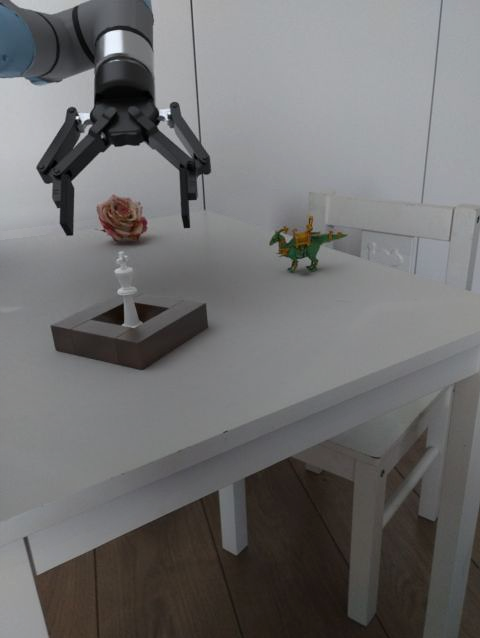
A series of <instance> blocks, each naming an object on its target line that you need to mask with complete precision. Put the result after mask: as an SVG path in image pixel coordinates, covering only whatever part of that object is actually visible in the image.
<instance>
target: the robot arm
mask: <svg viewBox="0 0 480 638" xmlns="http://www.w3.org/2000/svg"><path fill="white" fill-rule="evenodd" d="M152 5H153V4H152V0H87V1H84V2H82V3H80V4H78V5H75V6H73V7H70V8H67V9H65V10H62V11H59V12H55V13H52V14H50V13H46V12H42V11H37V10H34V9H33V10H32V9H30V8H29V9H28V8H23V7H20V6H18V5H17V4H15V3H14V2H13V1H12V0H0V79H14V78H24V79H25V80H27V81H29V83H30V84H32V85H34V86H38V87H39V86H40V87H41V86H46V85H49V84H53V83H57V84H58V83H61V82H63V80H65V79H69V78H70V77H73V76H76V75H79V74H82V73H85V72H88V71H90V70H92V69H93V74H94V79H93V108H92V109H91V111H90V112H78V109H77V108H76V107H75V106H70V107H68V108H67V109H66V113H65V118H64V122H63V124H62V125H61V126H60V128H59V130H58V132H57V133H56V135H55V136H54V138H53V140H52V141H51V143H50V144H49V146H48V147H47V149H46V151H45V152H44V154H43V155H42V157H41V158H40V160H39V161H38V163H37V165H36V167H35V168H36V171H37V173H38V175H39V177H40V178H41V180H42V182H43V183H44V184H46V185H50V184H52V187H51V189H52V191H51V199H52V201H53V203H54V205H55V207H56V208H57V209H59V225H60V227H61V228H62V231H63V233H65V235H66V237H73V236H74V223H75V220H74V219H75V186H74V184H73V181H74V180H75V178H76V177H78V176H79V175H80V173H82V171H84V170H85V169H86V168H87V167H88V165H89V164H91V162H92V161H94V159H96V157H97V156H98V155H99V154H100V153H105V152H107V150H108V149H109V148H110V147H111V146H114V148H118V147H119V148H120V147H125V146H133V147H140V146H141V144H142V143H145V144H146V145H147V146H148V147H149V148H150V149H152V150H153V151H154V150H155V151H156V152H157V153H158V154H159V155H161V156H162V157H163V158H164V159H165V160H166V161H168V162H169V163H170V164H171V165H172V166H173V167H174V168H175V169H177V170H178V174H179V175H178V176H179V177H178V178H179V194H180V195H179V196H180V216H181V221H182V226H183V229H190V228H191V216H190V214H191V213H190V201H197V200H198V198H199V190H198V189H199V188H198V178H199V176H201V175H204V176H208V175H210V174H212V163H211V156H210V154H209V153H208V151H207V150H206V149H205V147H204V145H203V144H202V143H201V141H200V140H199V139H198V137H197V135H196V134H195V133H194V132H193V130H192V128H191V127H190V126H189V125H188V124H189V123H188V122H186V120H185V118H184V117H183V116H182V111H181V107H180V103H179V102H178V101H172V102H170V103H169V107H167V108H160V109H159V108H158V107H157V103H156V99H157V98H156V82H155V80H156V73H155V72H156V71H155V51H154V26H155V25H154V23H155V18H154V12H153V6H152ZM161 122H164V123H165V124H166V126H168V127H169V129H173V131H174V133H175V135H176V137H177V138H178V140H179V141H180V143H181V145H182V146H183V147H184V149H185V150H186V151H187V153H188V154H189V155H188V154H187V153H186V152H185V151H184V150H183V149H181V147H179V145H177V144H176V143H175V142H174V141H173V140H172V139H170V138H169V137H168V136H167V135H166V134H164V133H163V132H162V131H161V130H160V129H159V127H158V126H159V125H160V123H161ZM90 125H91V126H90ZM88 126H90V127H89V129H88V132H87V134H86V135H85V136H84V137H83V138H82V139H80V138H81V134H84V133H85V131H86V129H87V127H88ZM79 140H80V141H79ZM78 141H79V142H78Z"/></svg>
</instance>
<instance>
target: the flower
mask: <svg viewBox="0 0 480 638" xmlns="http://www.w3.org/2000/svg"><path fill="white" fill-rule="evenodd" d="M96 212H97V215H98V220H99V222H100V224H101V226H102V228H103V229H99V228H94V230H96V231H101V232H103V233H106V236H110V237H111V238H112V240H113V241H114V244H113V245H114V246H115V245H116V243H118V242H119V241H124V239H125V240H126V241H128V239H130V240H131V239H132V240H133V241H137V242H138V241H139V240H140V238H141V235H144V233H146V232H147V231H148V227H147V226H148V220H147V219H146V217H145V216H143V206H141V201H133V200H132V199H131V198H130V197H125V196H123V197H121V196H118V195H116V194H112V195H111V196H109V198H107V200H105V201H103V202H102V203H100V204H97V205H96Z"/></svg>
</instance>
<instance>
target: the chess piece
mask: <svg viewBox="0 0 480 638" xmlns="http://www.w3.org/2000/svg"><path fill="white" fill-rule="evenodd" d="M129 259H130V258H129V255H125V251H119V252H118V258H117V259H115V264H116V265H119V267H118V268H115V270H114V275H115V277H116V278H117V280H118V282H119V284H120V286H121V287H120V288H118V289H117V292H116V293H117V294H119V295H123V297H124V324H122V326H126V327H132V328H135V327H137V326H139V325H141V324H142V322H141V321H139V318H138V315H137V311H136V308H135V304H134V300H133V297H132V294H134V293H138V289H137V288H136V287H134V286H132V282H133V275H134V268H133V267H131V266H127V262H128V261H129ZM117 294H116V295H117Z"/></svg>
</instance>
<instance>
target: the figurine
mask: <svg viewBox="0 0 480 638" xmlns="http://www.w3.org/2000/svg"><path fill="white" fill-rule="evenodd" d="M307 222H308V223H306V224H305V229H306V230H305V231H302V232H299V233H296V232H298V228H293V229H291V233H292V235H293V236H292V238H291V239H290V240H289V241H288V242H287V241H286V238H285V236H284V235H285V234H288V231H289V229H290V227H287V225H283V227H282V228H280V229H279V230H277V229H275V230H274V234H273V235H272V236H271V239H270V241H269V244H268V246H270V247H272V246H274V245H275V244H277V243H278V249H277V251H278V252H275V254H276V255H277V257H279V258H282V257H284V258H287V259H290V260H291V264H290V265H291V266H290V267H288V268H287V269H286V270H287V271H288V272H289V273H290V274H293V273H295V272H296V269H298V266H299V260H304V259H305V258H308V259H309V260H310V265H306V266H305V267H306V269H308V271H309V272H311V273H312V272H314V271H317V270H318V268H317V266H318V264H319V261H320V260H319V259H318V258H317V255H318V252H319V251H320V248H321V246H322V245H323V244H327V243H331V242H333V241H336V240H341V239H343V238H346V237H348V235H349V234H347V233H343V232H342V231H337V233H336V234H334V233H335V231H334V230H332V229H329V230H328V233H326V232H323V233H321V232H322V230H320V231H313V230H314V227H313V222H314V216H313V215H312V214H311V215H309V216H308V221H307ZM281 233H284V235H282V234H281Z"/></svg>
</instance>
